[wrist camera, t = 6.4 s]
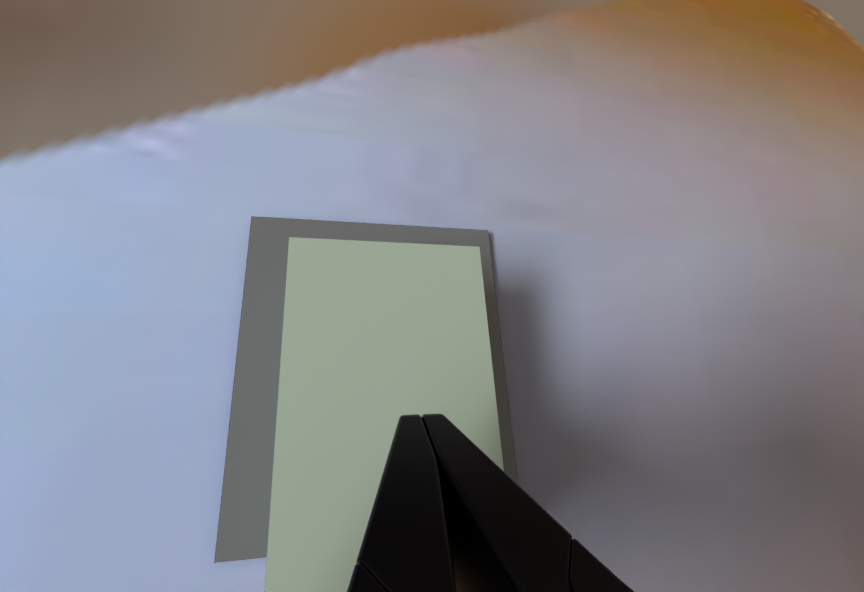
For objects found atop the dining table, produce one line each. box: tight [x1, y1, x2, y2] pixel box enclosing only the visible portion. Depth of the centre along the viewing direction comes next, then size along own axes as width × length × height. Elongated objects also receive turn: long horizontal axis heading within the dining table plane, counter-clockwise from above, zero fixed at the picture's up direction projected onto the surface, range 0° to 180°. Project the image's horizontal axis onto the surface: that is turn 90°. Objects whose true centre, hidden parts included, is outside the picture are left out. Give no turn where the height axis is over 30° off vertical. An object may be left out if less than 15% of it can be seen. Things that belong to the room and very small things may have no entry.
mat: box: [214, 216, 518, 563], centre depth 16 cm, size 12×10×1 cm
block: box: [264, 237, 504, 592], centre depth 13 cm, size 4×6×10 cm
